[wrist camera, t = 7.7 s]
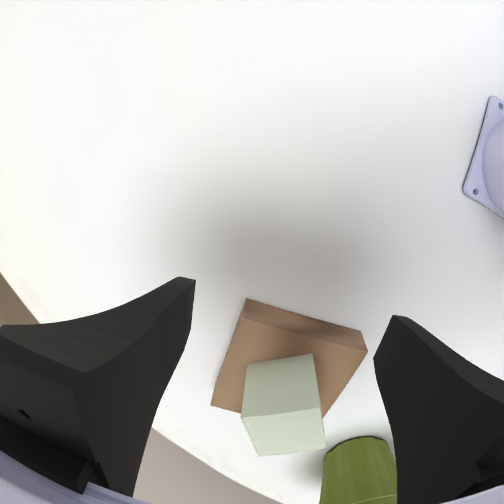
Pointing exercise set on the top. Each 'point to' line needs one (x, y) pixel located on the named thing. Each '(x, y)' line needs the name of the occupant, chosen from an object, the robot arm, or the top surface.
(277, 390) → the sage block
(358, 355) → the brown square block
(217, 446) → the top surface
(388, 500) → the plant pot
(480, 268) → the top surface
